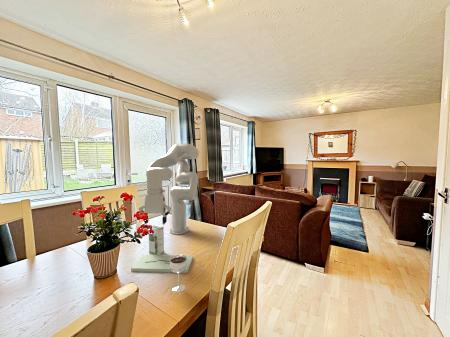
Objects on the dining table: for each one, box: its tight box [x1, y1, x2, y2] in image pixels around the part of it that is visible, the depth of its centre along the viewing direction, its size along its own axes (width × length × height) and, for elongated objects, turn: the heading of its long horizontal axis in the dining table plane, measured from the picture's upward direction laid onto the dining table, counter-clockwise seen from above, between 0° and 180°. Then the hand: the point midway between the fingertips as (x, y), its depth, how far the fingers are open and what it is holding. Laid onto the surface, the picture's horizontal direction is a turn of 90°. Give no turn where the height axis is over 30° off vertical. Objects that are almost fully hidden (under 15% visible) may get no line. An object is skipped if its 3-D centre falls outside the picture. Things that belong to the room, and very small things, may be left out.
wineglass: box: [170, 254, 187, 293], centre depth 77 cm, size 7×7×12 cm
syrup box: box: [148, 224, 165, 255], centre depth 105 cm, size 6×6×14 cm
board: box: [130, 254, 194, 274], centre depth 94 cm, size 12×26×2 cm, turn 87°
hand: (155, 223), depth 104 cm, fingers open, 9 cm apart
